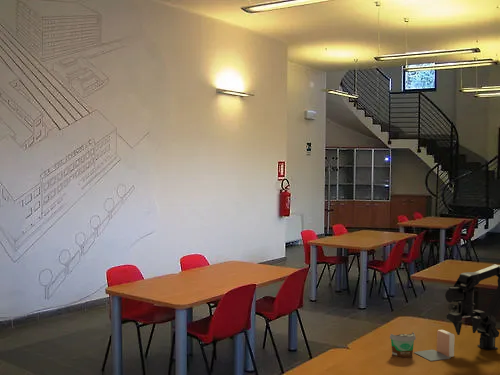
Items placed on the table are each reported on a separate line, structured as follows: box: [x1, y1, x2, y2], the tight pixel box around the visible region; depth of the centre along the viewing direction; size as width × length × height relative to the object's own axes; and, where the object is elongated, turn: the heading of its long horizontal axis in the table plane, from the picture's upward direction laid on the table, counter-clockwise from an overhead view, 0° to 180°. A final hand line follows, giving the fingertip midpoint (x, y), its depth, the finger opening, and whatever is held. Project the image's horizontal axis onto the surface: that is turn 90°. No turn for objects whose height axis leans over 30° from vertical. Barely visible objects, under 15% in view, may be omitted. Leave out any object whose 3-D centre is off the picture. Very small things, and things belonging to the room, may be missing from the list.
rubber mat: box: [413, 349, 451, 362], centre depth 248 cm, size 11×12×1 cm
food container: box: [389, 331, 416, 359], centre depth 246 cm, size 12×6×10 cm, turn 105°
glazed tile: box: [436, 329, 455, 358], centre depth 250 cm, size 3×8×10 cm, turn 21°
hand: (466, 333), depth 254 cm, fingers open, 9 cm apart
